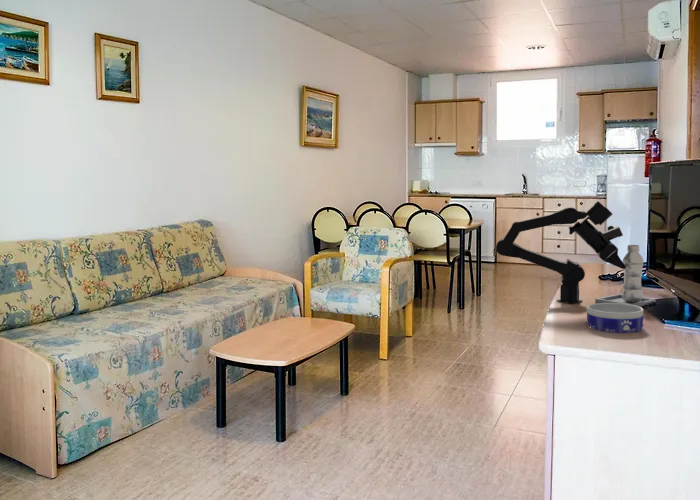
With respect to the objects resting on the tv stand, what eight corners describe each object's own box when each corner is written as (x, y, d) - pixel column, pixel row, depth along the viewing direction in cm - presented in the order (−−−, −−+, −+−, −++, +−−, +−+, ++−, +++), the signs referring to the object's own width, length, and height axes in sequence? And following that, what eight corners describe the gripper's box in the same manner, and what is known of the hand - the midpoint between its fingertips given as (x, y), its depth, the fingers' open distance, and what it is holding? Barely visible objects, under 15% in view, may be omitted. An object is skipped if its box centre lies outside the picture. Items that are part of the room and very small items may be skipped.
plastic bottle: (628, 299, 217) (630, 244, 215) (646, 302, 211) (648, 245, 209) (617, 302, 214) (618, 245, 212) (635, 304, 208) (636, 246, 206)
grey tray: (632, 309, 204) (632, 304, 204) (595, 302, 215) (595, 298, 215) (655, 303, 212) (655, 299, 211) (618, 298, 223) (618, 294, 223)
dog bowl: (609, 335, 171) (610, 314, 170) (575, 324, 185) (576, 304, 185) (655, 331, 175) (655, 310, 174) (618, 320, 189) (618, 300, 189)
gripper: (611, 220, 203) (646, 253, 201) (605, 217, 221) (637, 247, 219) (585, 243, 206) (619, 276, 204) (581, 238, 224) (613, 269, 222)
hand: (623, 266), depth 212 cm, fingers open, 9 cm apart
